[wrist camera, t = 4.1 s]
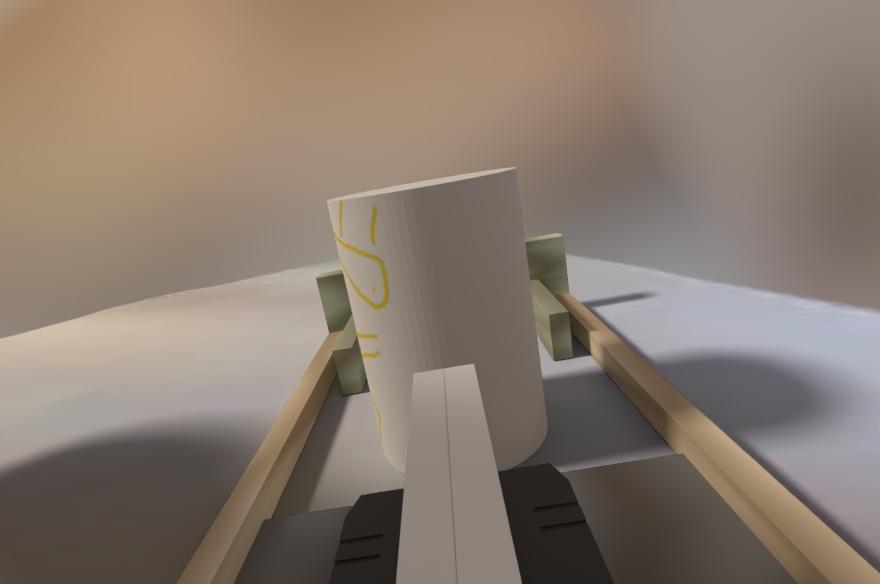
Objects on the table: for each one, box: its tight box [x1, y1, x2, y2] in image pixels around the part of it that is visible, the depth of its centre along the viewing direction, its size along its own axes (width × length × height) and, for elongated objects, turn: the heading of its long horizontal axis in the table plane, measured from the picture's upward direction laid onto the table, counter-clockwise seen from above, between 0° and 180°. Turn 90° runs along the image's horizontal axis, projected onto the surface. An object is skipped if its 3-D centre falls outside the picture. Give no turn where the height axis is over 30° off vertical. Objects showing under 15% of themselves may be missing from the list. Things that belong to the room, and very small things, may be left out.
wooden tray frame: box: [176, 233, 880, 584], centre depth 24 cm, size 19×30×6 cm, turn 1°
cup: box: [327, 168, 548, 474], centre depth 22 cm, size 8×8×12 cm
